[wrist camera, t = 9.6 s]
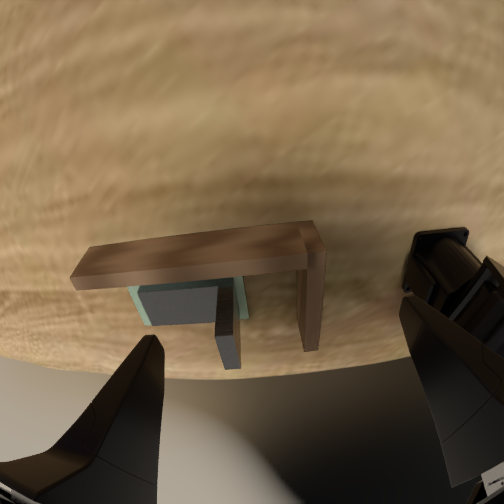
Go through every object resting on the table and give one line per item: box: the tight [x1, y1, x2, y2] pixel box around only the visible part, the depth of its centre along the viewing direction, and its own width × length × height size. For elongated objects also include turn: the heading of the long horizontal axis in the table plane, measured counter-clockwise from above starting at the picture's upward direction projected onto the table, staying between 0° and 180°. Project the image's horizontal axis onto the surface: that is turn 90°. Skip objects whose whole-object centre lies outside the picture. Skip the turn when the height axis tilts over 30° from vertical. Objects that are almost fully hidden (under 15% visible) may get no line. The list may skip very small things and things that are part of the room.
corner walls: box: [70, 221, 326, 352], centre depth 22 cm, size 18×10×4 cm, turn 96°
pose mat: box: [127, 276, 249, 326], centre depth 24 cm, size 10×6×1 cm, turn 96°
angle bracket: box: [137, 277, 241, 370], centre depth 22 cm, size 8×4×6 cm, turn 96°
